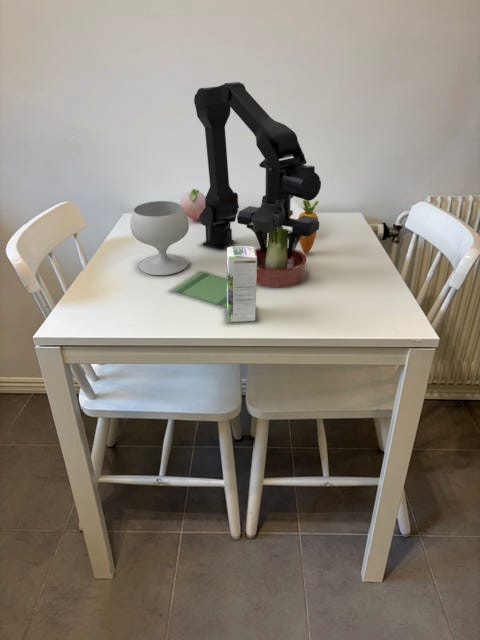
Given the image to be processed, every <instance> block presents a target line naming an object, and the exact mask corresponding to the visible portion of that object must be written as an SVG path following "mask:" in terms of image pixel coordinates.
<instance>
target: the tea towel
mask: <svg viewBox="0 0 480 640" xmlns="http://www.w3.org/2000/svg"><path fill="white" fill-rule="evenodd" d="M172 291H173V292H175V293H178V294H182V295H186V296H189V297H192V298H195V299H198V300H202V301H205V302H208V303H211V304H215V305H217V306H221V307H224V308H227V278H225V277H222V276H217V275H213V274H210V273H207V272H202V271H200V272H198V273H197V274H195V275H194V276H192V277H191V278H189V279H187V280H186V281H185V282H183V283H181V284H179V285H178V286H177V287H175V288H174V289H172Z"/></svg>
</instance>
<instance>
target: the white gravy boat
mask: <svg viewBox="0 0 480 640" xmlns="http://www.w3.org/2000/svg"><path fill="white" fill-rule="evenodd" d="M303 208H304V207H302V206H300V204H299V203H298V202H297V201H295V200H294V199H293V198H291V204H290V210H292V211H293V214H292V215H291V216H290V218H292V219H299V215H300V214H301V213H303V212H305V210H304V209H303ZM282 227H283V229H287V230H288V233H290V232H291V231H292V227H288V226H282Z"/></svg>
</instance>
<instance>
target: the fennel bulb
mask: <svg viewBox="0 0 480 640" xmlns="http://www.w3.org/2000/svg"><path fill="white" fill-rule="evenodd" d="M287 234H288V230H287V229H283V227H281V228H278V227H276V228H274V231H273V232H271V233H268V238H267V252H266V265H265V266H266V269H270V270H284V269H285V268H286V263H287V247H288V240H289V238H288V236H287Z"/></svg>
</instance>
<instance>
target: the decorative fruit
mask: <svg viewBox="0 0 480 640" xmlns="http://www.w3.org/2000/svg"><path fill="white" fill-rule="evenodd" d="M205 197H206V195H204V194H203V192H200V190H199V189H196V188H193V189H191V191H188V192H186V193H185V194H183V196H182V197H181V199H180V205H181V206H182V207H183V209H184V210H185V212H186V215H187V218H188V219H191V220H193V221H198V220H199V215H200V214H201V213H202V211H203V210H204V209H205Z"/></svg>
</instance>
